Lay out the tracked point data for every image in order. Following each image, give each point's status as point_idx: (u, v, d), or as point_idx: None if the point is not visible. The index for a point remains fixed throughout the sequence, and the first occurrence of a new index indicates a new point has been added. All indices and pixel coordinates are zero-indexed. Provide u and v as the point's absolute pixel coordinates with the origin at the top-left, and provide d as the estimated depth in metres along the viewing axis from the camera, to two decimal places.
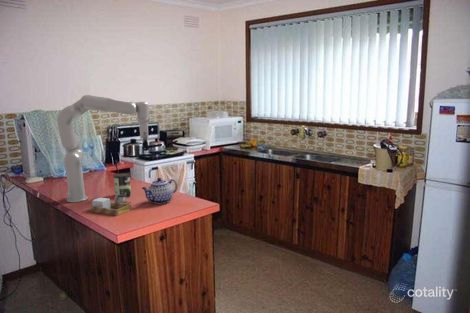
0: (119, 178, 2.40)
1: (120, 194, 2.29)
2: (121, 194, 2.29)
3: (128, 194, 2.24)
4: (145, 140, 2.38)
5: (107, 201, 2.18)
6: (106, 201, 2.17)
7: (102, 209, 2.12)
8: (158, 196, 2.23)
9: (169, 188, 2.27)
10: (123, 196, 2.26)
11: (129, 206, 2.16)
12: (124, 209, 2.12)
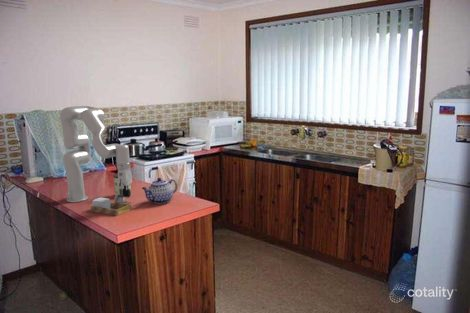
0: None
1: (120, 194, 2.29)
2: (121, 194, 2.29)
3: None
4: None
5: (107, 201, 2.18)
6: (106, 201, 2.17)
7: (102, 209, 2.12)
8: (158, 196, 2.23)
9: (169, 188, 2.27)
10: (123, 196, 2.26)
11: (129, 206, 2.16)
12: (124, 209, 2.12)
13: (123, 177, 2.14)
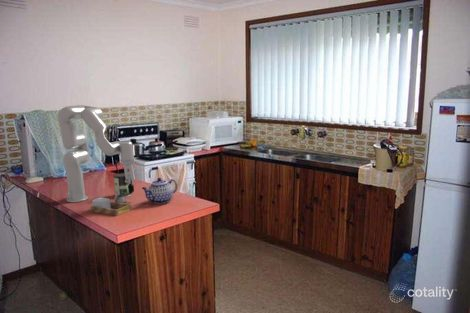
0: (119, 178, 2.40)
1: (118, 194, 2.29)
2: (119, 194, 2.29)
3: None
4: None
5: (107, 201, 2.18)
6: (106, 201, 2.17)
7: (102, 209, 2.12)
8: (158, 196, 2.23)
9: (169, 188, 2.27)
10: (125, 194, 2.30)
11: (129, 206, 2.16)
12: (124, 209, 2.12)
13: (131, 172, 2.22)
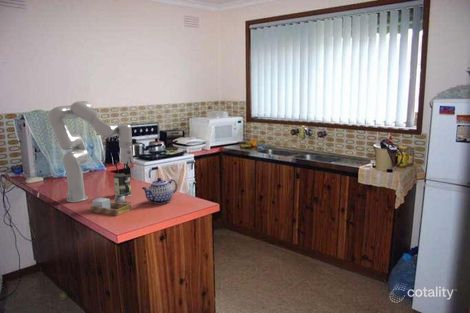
0: (119, 178, 2.40)
1: (118, 194, 2.29)
2: (118, 194, 2.29)
3: None
4: None
5: (107, 201, 2.18)
6: (106, 201, 2.17)
7: (102, 209, 2.12)
8: (158, 196, 2.23)
9: (169, 188, 2.27)
10: (124, 194, 2.31)
11: (129, 206, 2.16)
12: (124, 209, 2.12)
13: (131, 155, 2.24)
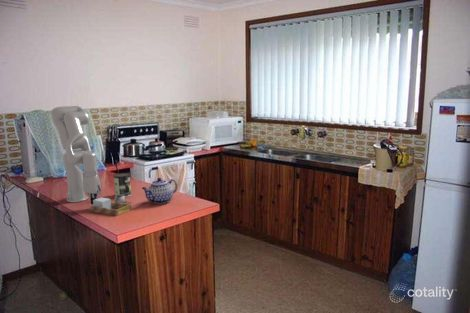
0: (119, 178, 2.40)
1: (118, 194, 2.29)
2: (118, 194, 2.29)
3: None
4: (96, 195, 2.20)
5: (107, 201, 2.18)
6: (106, 201, 2.17)
7: (102, 209, 2.12)
8: (158, 196, 2.23)
9: (169, 188, 2.27)
10: (124, 194, 2.31)
11: (129, 206, 2.16)
12: (124, 209, 2.12)
13: None
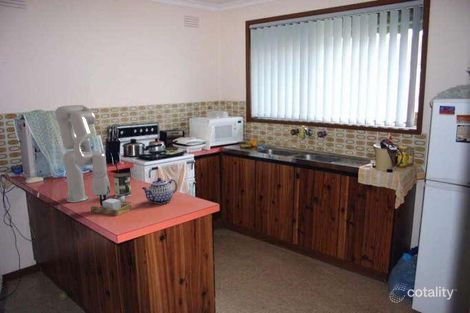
0: (119, 178, 2.40)
1: (118, 194, 2.29)
2: (118, 194, 2.29)
3: None
4: (106, 196, 2.17)
5: (117, 202, 2.15)
6: (116, 202, 2.14)
7: (102, 209, 2.12)
8: (158, 196, 2.23)
9: (169, 188, 2.27)
10: (124, 194, 2.31)
11: (129, 206, 2.16)
12: (124, 209, 2.12)
13: None
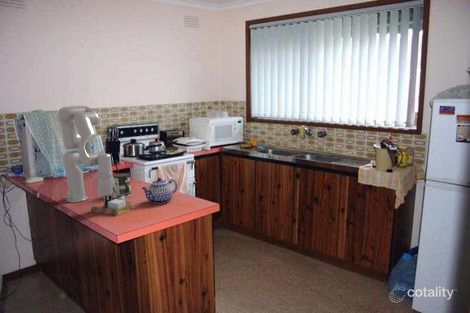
0: (119, 178, 2.40)
1: (118, 194, 2.29)
2: (118, 194, 2.29)
3: None
4: (111, 197, 2.15)
5: (123, 203, 2.13)
6: (122, 203, 2.12)
7: (102, 209, 2.12)
8: (158, 196, 2.23)
9: (169, 188, 2.27)
10: (124, 194, 2.31)
11: (129, 206, 2.16)
12: (124, 209, 2.12)
13: None
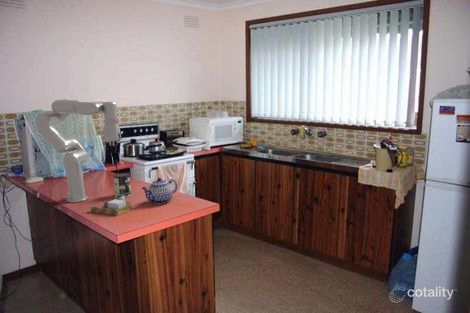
0: (119, 178, 2.40)
1: (118, 194, 2.29)
2: (118, 194, 2.29)
3: None
4: (116, 143, 2.29)
5: (123, 203, 2.13)
6: (122, 203, 2.12)
7: (102, 209, 2.12)
8: (158, 196, 2.23)
9: (169, 188, 2.27)
10: (124, 194, 2.31)
11: (129, 206, 2.16)
12: (124, 209, 2.12)
13: None
